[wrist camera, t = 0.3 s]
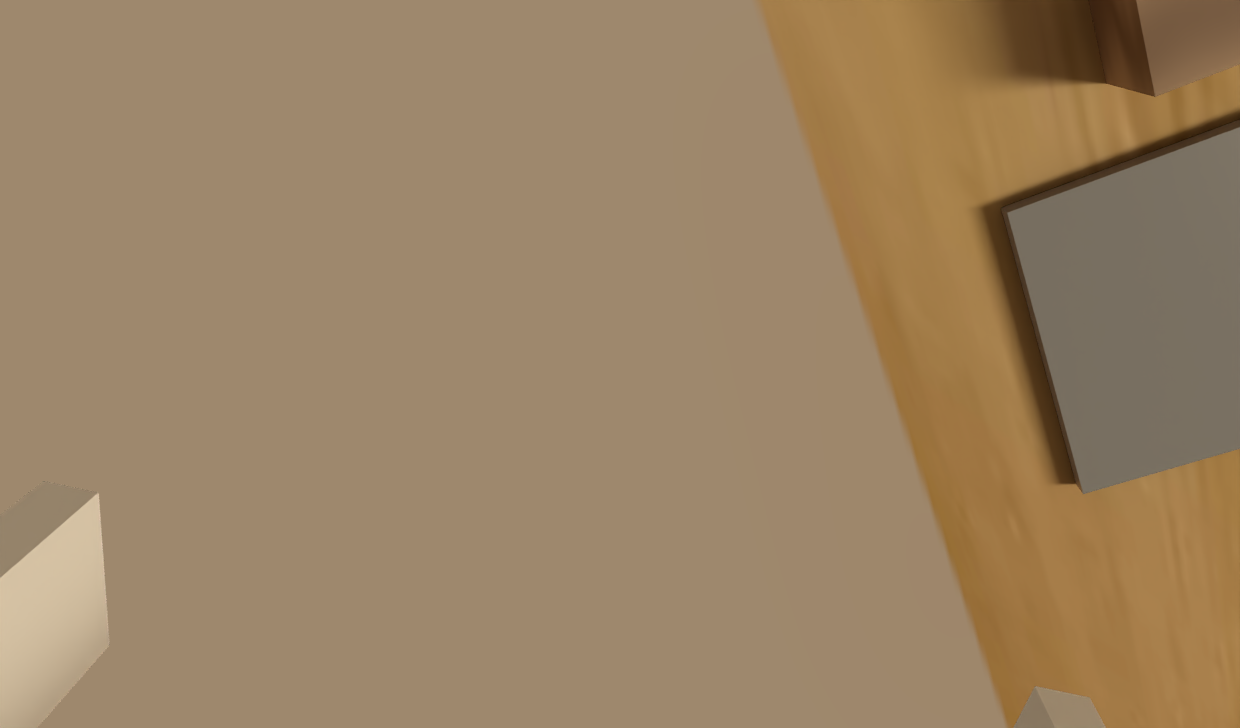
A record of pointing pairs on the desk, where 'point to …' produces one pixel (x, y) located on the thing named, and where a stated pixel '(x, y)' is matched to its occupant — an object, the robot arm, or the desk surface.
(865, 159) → the desk surface
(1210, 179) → the coaster
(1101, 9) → the walnut block
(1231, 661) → the desk surface
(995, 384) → the desk surface
